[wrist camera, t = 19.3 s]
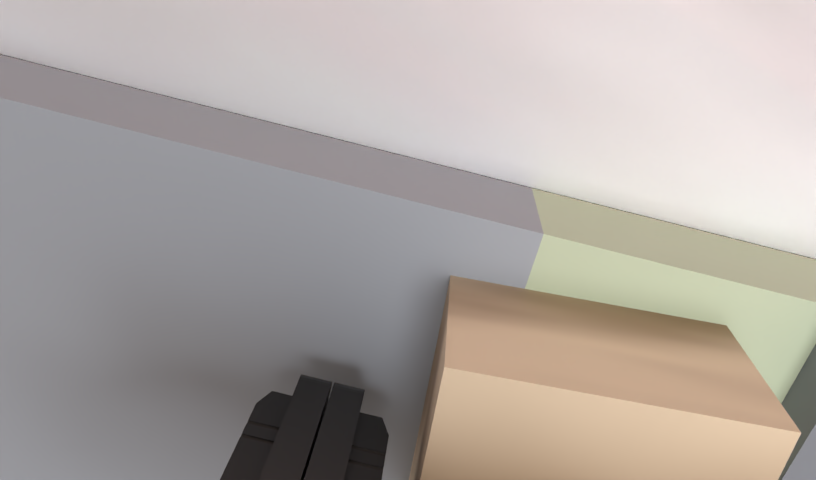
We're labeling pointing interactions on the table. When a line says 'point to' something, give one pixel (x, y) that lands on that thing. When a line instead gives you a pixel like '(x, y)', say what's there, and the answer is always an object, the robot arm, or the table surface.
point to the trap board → (295, 278)
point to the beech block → (591, 394)
